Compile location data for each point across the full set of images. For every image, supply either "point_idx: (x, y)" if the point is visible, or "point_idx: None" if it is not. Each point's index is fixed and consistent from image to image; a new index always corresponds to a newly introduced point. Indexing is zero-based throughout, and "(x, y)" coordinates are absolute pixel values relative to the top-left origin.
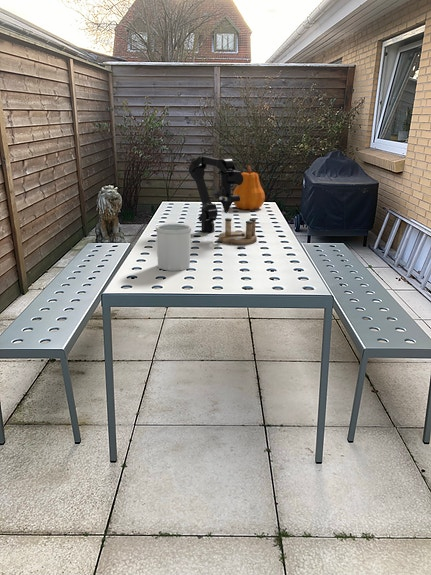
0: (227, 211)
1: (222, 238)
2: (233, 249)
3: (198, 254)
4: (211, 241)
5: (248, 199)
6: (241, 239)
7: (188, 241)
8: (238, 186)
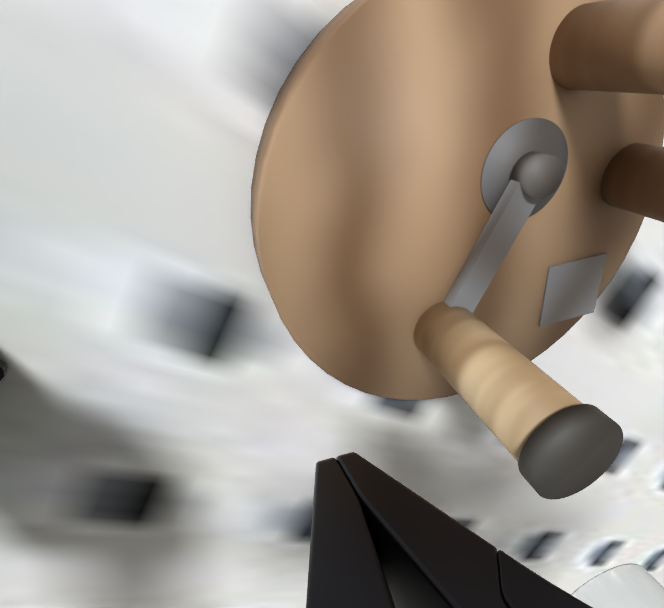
0: (379, 479)
1: None
2: (613, 354)
3: (550, 529)
4: (366, 429)
5: None
6: (605, 262)
7: None
8: None
